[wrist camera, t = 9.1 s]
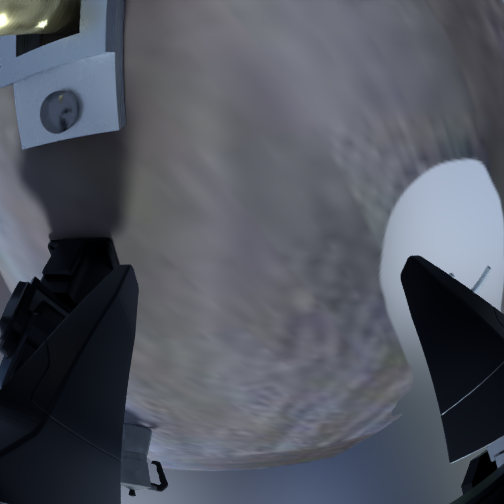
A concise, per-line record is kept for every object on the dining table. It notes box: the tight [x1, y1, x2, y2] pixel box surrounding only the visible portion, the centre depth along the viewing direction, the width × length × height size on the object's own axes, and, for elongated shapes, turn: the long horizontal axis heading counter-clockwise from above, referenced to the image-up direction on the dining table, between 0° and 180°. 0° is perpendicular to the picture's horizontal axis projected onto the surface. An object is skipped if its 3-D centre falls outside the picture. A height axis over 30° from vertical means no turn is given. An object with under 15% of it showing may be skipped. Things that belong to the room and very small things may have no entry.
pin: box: [0, 0, 81, 36], centre depth 7 cm, size 3×3×8 cm
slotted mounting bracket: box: [0, 0, 126, 149], centre depth 8 cm, size 18×8×4 cm, turn 177°
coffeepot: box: [120, 424, 168, 496], centre depth 46 cm, size 15×9×18 cm, turn 51°
